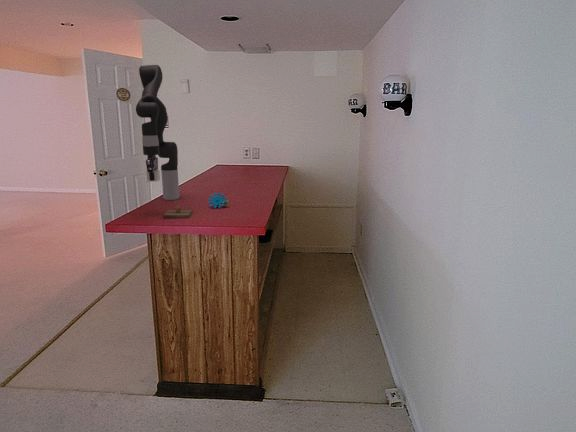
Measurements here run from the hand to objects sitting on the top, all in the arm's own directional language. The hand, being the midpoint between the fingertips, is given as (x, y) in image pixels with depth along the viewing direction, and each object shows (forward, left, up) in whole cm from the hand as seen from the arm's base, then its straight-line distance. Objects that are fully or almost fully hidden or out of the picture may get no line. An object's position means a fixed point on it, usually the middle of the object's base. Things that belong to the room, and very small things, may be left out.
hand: (153, 179), depth 203 cm
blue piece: (-12, +30, -18) cm, 37 cm away
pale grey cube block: (0, 0, -1) cm, 1 cm away
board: (+5, +12, -17) cm, 22 cm away
